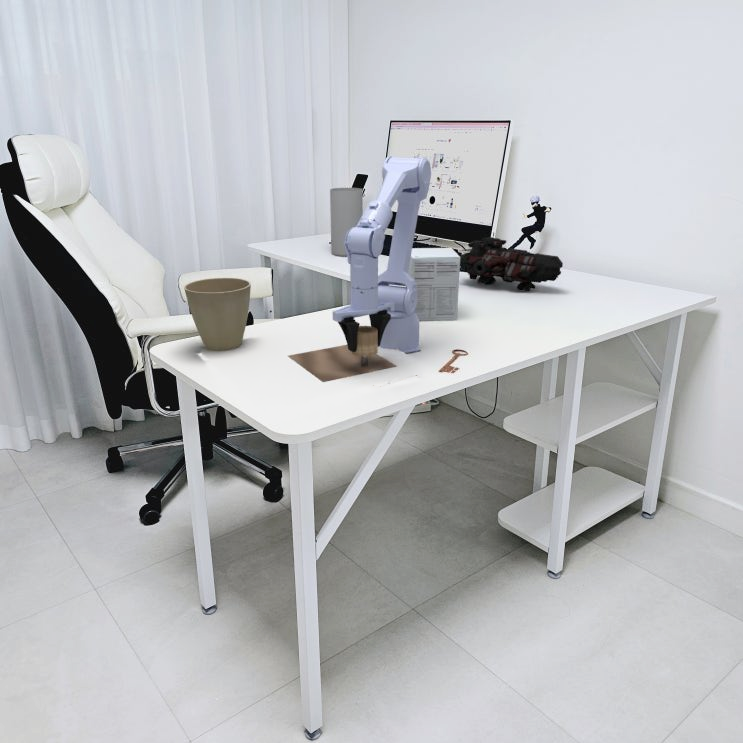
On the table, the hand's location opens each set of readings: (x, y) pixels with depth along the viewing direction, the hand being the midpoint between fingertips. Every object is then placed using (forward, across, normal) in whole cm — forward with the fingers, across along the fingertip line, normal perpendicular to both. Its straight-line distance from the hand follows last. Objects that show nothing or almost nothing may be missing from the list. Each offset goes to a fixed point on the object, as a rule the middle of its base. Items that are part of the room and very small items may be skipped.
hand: (364, 347), depth 141 cm
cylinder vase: (+6, -67, -110) cm, 129 cm away
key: (+6, -21, +7) cm, 23 cm away
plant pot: (+6, +20, -31) cm, 37 cm away
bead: (+1, 0, 0) cm, 1 cm away
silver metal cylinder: (+4, 0, 0) cm, 4 cm away
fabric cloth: (+6, +3, -5) cm, 8 cm away
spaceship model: (+6, -81, -34) cm, 88 cm away
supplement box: (+6, -40, -26) cm, 48 cm away
